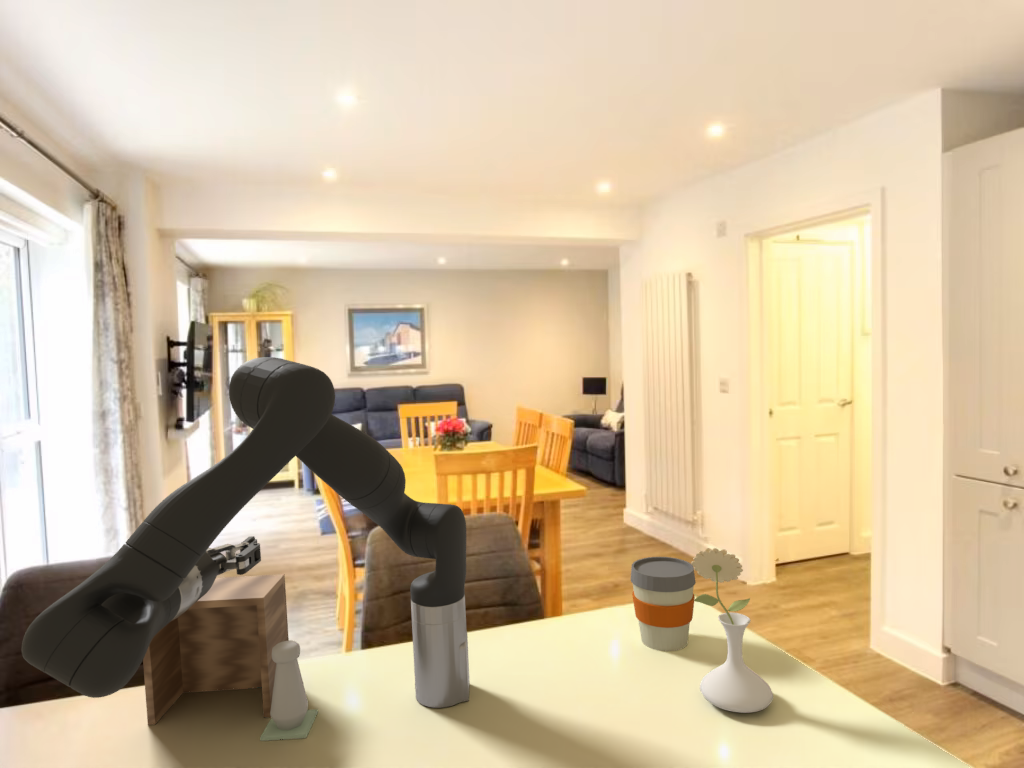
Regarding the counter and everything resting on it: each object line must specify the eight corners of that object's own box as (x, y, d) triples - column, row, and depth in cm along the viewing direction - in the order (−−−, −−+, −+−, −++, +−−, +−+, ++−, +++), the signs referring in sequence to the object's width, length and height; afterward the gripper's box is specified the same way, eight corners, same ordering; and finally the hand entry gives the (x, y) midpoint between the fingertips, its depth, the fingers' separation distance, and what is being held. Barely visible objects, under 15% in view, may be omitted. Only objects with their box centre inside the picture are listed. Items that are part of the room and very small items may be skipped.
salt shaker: (297, 735, 100) (292, 653, 99) (263, 732, 101) (258, 651, 100) (315, 714, 106) (311, 636, 105) (283, 711, 107) (279, 635, 106)
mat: (317, 712, 107) (317, 709, 107) (306, 738, 100) (305, 734, 100) (275, 715, 107) (275, 711, 107) (260, 740, 100) (260, 737, 100)
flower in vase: (784, 697, 106) (781, 548, 105) (756, 729, 98) (753, 568, 96) (709, 672, 115) (706, 535, 114) (678, 700, 107) (674, 551, 105)
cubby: (291, 682, 117) (284, 574, 116) (271, 717, 106) (263, 597, 105) (179, 689, 117) (171, 580, 116) (147, 724, 106) (138, 604, 105)
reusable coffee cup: (708, 637, 129) (706, 563, 128) (678, 662, 119) (676, 582, 118) (651, 621, 137) (649, 552, 136) (620, 643, 128) (618, 569, 127)
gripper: (226, 551, 79) (270, 516, 96) (108, 557, 79) (173, 521, 95) (230, 610, 80) (273, 566, 96) (113, 617, 79) (176, 571, 96)
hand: (223, 544), depth 96 cm, fingers open, 8 cm apart
